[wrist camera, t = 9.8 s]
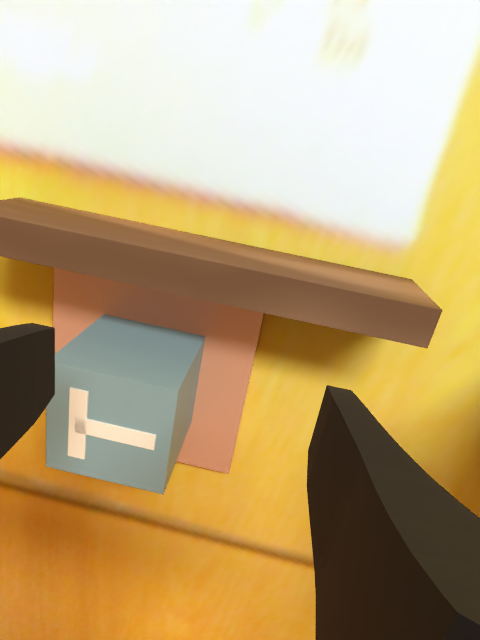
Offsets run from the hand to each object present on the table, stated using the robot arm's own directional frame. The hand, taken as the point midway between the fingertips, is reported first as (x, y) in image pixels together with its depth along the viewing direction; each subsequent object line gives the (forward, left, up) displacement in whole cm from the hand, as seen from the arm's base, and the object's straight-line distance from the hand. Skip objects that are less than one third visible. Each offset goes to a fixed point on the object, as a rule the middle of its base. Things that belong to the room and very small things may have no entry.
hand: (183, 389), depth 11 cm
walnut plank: (+1, +1, -9) cm, 9 cm away
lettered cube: (-5, +3, -9) cm, 10 cm away
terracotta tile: (-5, +3, -9) cm, 11 cm away
